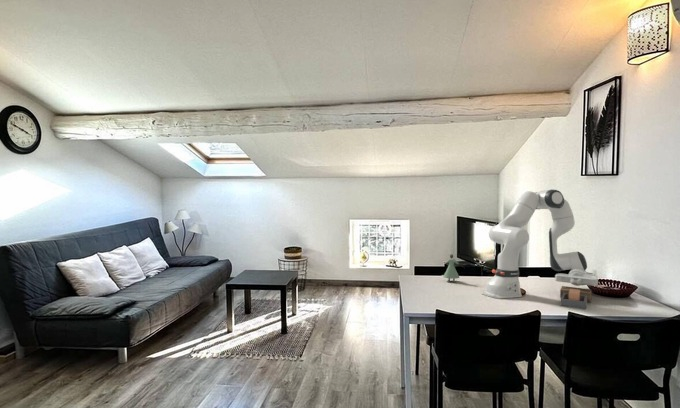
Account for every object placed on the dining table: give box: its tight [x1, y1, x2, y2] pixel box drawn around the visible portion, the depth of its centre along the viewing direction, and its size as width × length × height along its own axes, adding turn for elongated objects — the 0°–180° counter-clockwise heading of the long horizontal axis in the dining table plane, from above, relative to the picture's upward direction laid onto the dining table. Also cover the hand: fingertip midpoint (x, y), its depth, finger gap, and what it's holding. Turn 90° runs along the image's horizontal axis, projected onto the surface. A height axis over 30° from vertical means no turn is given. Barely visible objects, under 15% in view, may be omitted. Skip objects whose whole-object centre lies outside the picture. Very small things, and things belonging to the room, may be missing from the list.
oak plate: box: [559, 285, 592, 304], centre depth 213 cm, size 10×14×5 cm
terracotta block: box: [569, 289, 580, 301], centre depth 203 cm, size 6×4×10 cm
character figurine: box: [441, 254, 464, 282], centre depth 254 cm, size 16×8×18 cm, turn 80°
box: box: [560, 293, 588, 310], centre depth 202 cm, size 15×11×4 cm
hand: (575, 282), depth 209 cm, fingers closed
